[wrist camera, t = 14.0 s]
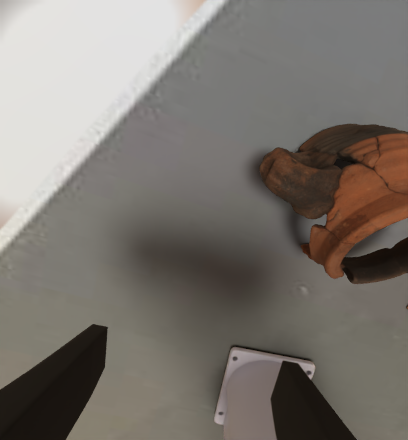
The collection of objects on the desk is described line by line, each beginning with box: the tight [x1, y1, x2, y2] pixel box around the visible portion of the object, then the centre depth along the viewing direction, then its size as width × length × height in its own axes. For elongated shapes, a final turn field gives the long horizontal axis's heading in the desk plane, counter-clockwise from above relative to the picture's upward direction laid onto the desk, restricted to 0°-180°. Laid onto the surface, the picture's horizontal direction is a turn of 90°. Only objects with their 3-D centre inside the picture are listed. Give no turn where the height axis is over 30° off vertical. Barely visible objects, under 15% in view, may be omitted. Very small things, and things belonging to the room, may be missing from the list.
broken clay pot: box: [259, 124, 408, 284], centre depth 14 cm, size 12×10×8 cm
